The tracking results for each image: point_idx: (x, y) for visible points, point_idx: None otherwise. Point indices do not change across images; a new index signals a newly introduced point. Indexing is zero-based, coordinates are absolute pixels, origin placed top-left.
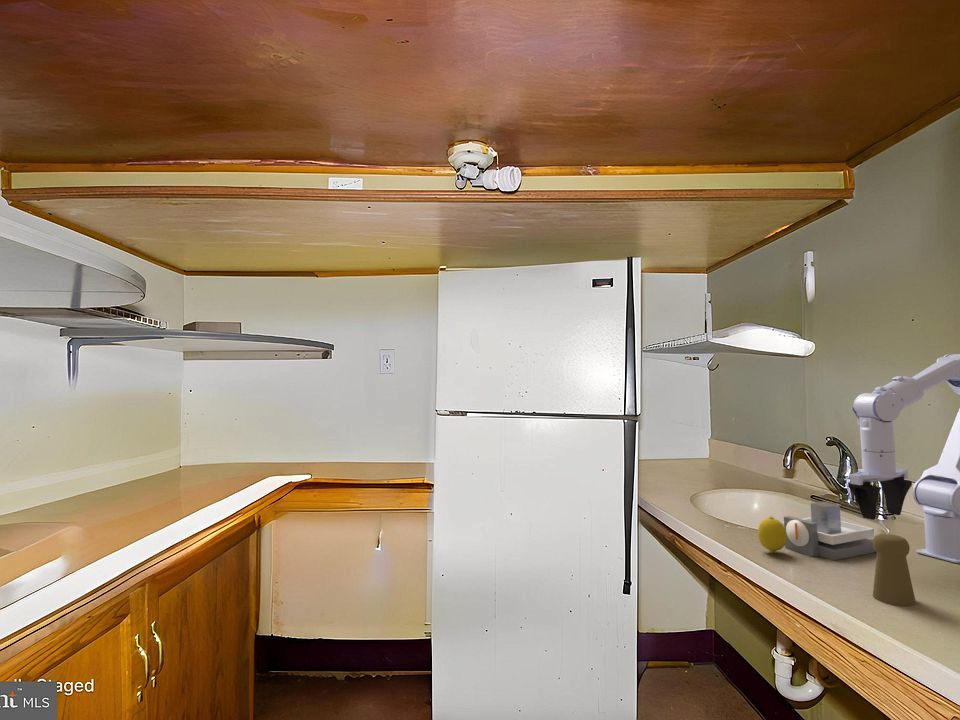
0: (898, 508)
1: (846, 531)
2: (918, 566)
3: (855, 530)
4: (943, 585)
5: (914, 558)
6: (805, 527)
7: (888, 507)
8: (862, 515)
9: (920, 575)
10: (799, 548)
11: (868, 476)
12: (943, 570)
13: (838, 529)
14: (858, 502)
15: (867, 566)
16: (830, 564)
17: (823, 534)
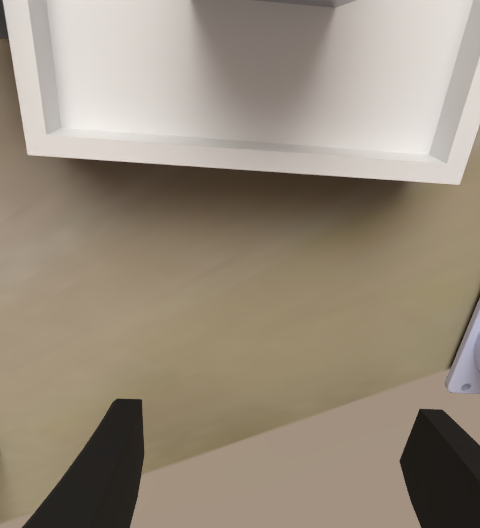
0: (422, 513)
1: (377, 24)
2: (311, 342)
3: (456, 45)
4: (184, 446)
5: (407, 291)
6: None
7: (439, 454)
8: (107, 411)
9: (215, 386)
10: None
11: None
12: (333, 392)
13: (310, 2)
14: (36, 518)
15: (138, 261)
16: (2, 168)
17: (17, 79)
